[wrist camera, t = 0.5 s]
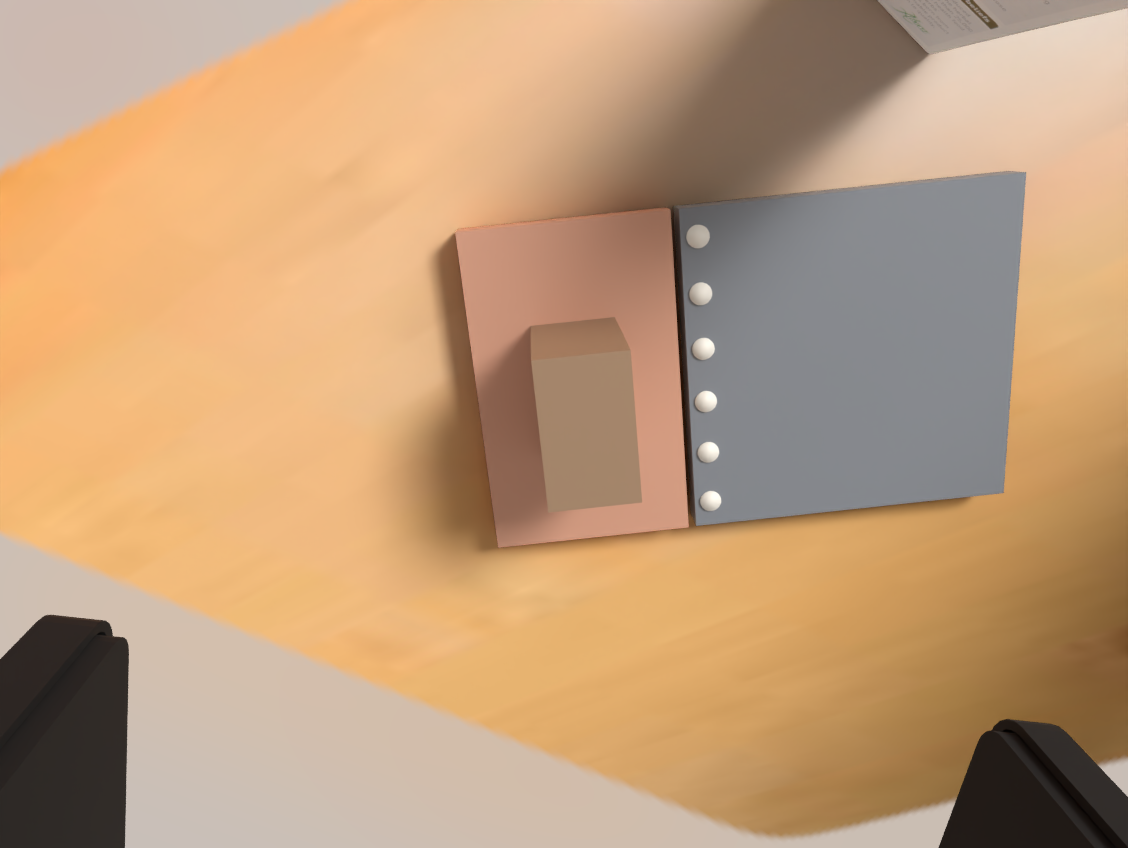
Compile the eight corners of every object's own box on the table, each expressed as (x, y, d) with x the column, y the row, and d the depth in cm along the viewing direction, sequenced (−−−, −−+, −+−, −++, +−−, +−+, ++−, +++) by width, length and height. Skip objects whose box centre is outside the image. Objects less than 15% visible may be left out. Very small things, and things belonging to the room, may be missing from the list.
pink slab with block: (665, 207, 30) (697, 223, 25) (683, 515, 34) (715, 592, 28) (457, 229, 30) (441, 250, 25) (499, 535, 34) (493, 616, 28)
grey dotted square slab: (1007, 171, 31) (1027, 172, 29) (987, 481, 34) (1004, 493, 33) (673, 205, 31) (679, 208, 29) (690, 513, 34) (696, 526, 33)
